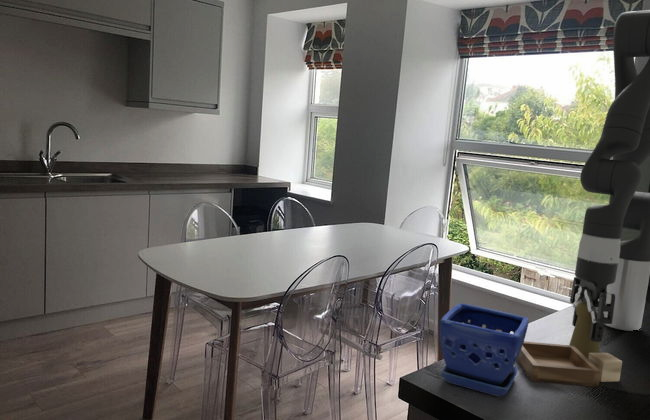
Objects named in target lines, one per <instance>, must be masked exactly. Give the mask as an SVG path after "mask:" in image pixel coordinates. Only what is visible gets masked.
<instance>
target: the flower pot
mask: <svg viewBox="0 0 650 420" xmlns="http://www.w3.org/2000/svg"><path fill="white" fill-rule="evenodd" d="M529 322H530V321H529V318H528V317H526V316H523V315H518V314H514V313H510V312H505V311H500V310H496V309H492V308H488V307H484V306H478V305H473V304H468V303H457V304H456V305H455V306H453V307H452V308H451V309H449V311H448V312H447V313H445V314H444V315H443V316H442V318H441V319H440V323H439V339H440V340H439V341H440V348H441V349H440V350H441V352H442V357H443V360H444V363H445V365H444V367H443V368H442V370H441V372H440V373H441V377H442V378H443V379H444V380H445V381H446V382H447V383H450V384H453V385H457V386H460V387H464V388H467V389H470V390H474V391H477V392H482V393H484V394H489V395H491V396H493V397H502V396H504V395H506V394H507V393H508V392H509V390H510V388H511V386H512V384H513V383H514V380H515V378H516V376H517V374H518V370H519V368H518V367H517V366H515V365H516V363H517V361H516V360H517V358H518V356H519V354H520V351H521V348H522V345H523V343H524V341H525V339H526V334H527V332H528V331H527V330H528V329H529V328H528V327H529ZM483 326H485V327H483ZM511 332H512V333H511Z"/></svg>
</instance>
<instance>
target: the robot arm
mask: <svg viewBox="0 0 650 420" xmlns="http://www.w3.org/2000/svg"><path fill="white" fill-rule="evenodd" d="M612 39H613V40H612V41H613V43H612V45H613V47H612V48H613V64H614V65H613V66H614V99H613V100H612V102H611V104H610V106H609V108H608V110H607V112H606V116H605V121H604V123H603V124H604V125H603V127H602V131H601V135H600V138H599V140H598V142H597V143H596V145H595V147H594V148H593V150H592V152H591V153H590V155H589V157H588V158H587V159H586V161H585V163H584V165H583V166H582V169H581V172H580V176H579V177H580V179H579V180H580V184H581V186H582V188H583V190H584V191H586V192H588V193H592V194H599V195H600V194H601V195H608V196H609V200H608V201H609V202H608V204H598V205H596V204H595V205H590V206H588V207H587V208H586V210H585V213H584V218H583V219H584V220H583V226H582V233H581V237H580V240H579V245H578V251H577V257H576V262H575V263H576V264H575V271H574V277H573V281H572V287H571V292H570V298H569V303H570V304H572V307H573V316H572V322H571V323H572V324H571V325H572V327H574V328H575V325H576V321H577V318H578V316H577V314H576V307H577V305H578V304H579V303H580V302H585V303H586V304H587V306H588V311H589V312H590V313H591V316H592V325H591V331H590V340H591V341H594V342H599V343H601V342H602V341H603V337H604V331H605V326H606V327H609V328H611V329H612V328H613V329H616V330H622V331H627V332H628V331H629V332H634V331H633V330H638V331H640V330H641V329H642V323H643V317H644V313H645V306H646V299H647V298H646V297H647V294H648V293H647V292H648V286H649V282H650V281H649V280H650V192H644V191H643V192H642V191H637V189H638V188H639V185H640V183H641V179H642V172H641V169H640V166H641V165H642V164H644V162H645V161H647V159H648V158H649V157H650V9H645V10H633V11H625V12H622V13H620V14H619V15H618V16H617V18H616V21H615V24H614V27H613V38H612ZM635 58H648V60H647V62H646V64H645V65H644V67H643V68H642V70H641V71H640V72H639V73H638V71H637V68H636V64H635ZM623 229H626V230H627V229H628V230H634V231H639V234H638V236H636V237H634V238H632V239H628V240H622V239H621V237H622V232H623V231H622V230H623ZM596 313H598V314H596ZM640 328H641V329H640ZM639 329H640V330H639Z"/></svg>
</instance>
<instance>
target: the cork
mask: <svg viewBox="0 0 650 420" xmlns="http://www.w3.org/2000/svg"><path fill="white" fill-rule="evenodd" d="M576 314H577V316H578V318H577V321H576V325H575V327H574V328H573V332H572V336H571V339H570V342H569V344H568V345H571V346H575V347H576V348H577V349H578V350H579V351H580V352H581V353H582V354H583V355H584V356H585V357H586V358H587V359H588V357H589V353H600V342H594V341H591V340H590V331H591V325H592V316H591V313H590V312H589V311H588V306H587V304H586V303H585V302H580V303H579V304H578V305H577V307H576ZM596 314H598V313H596Z"/></svg>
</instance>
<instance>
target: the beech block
mask: <svg viewBox="0 0 650 420" xmlns="http://www.w3.org/2000/svg"><path fill="white" fill-rule="evenodd" d="M588 360H589V361H590V362H591V363H593V364H594V365H595V366H596V367H597V368H598V369H599V370H600V371H601V374H600V380H599V383H600V382H602V383H603V382H604V383H605V382H620V380H621V373H622V368H623V367H622V365H623V361H622V360H621V359H620V358H617V357H616V356H614V355H612V354H610V353H609V352H599V353H589V357H588Z"/></svg>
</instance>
